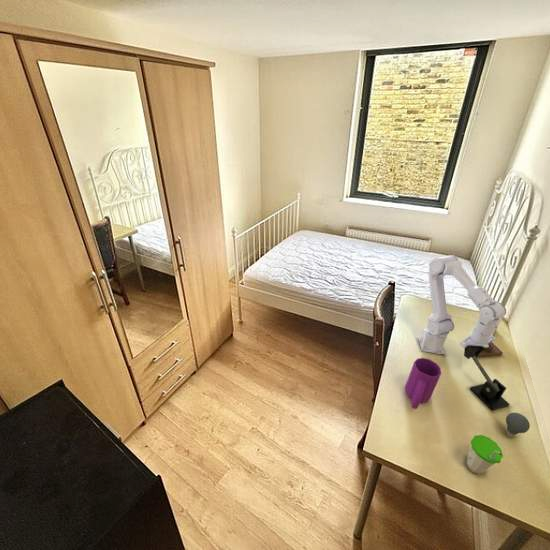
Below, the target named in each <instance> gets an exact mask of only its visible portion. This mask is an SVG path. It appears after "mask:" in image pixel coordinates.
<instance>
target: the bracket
mask: <svg viewBox="0 0 550 550" xmlns="http://www.w3.org/2000/svg"><path fill="white" fill-rule="evenodd" d="M492 382H493V383H497V385H498V386H499V388H500V389H501V390H500V391H498V390H497V389H496V388H495V387H494V386H493V385H491V384H490V383H489V382H488V381H487V380H486V381H485V382H484V383H481V384H478V385H474V386H470V387H469V390H470V391H471V393H473V394H474V396H476V398H478V399H479V401H480V402H482V403H483V404H484V405H485V406H486V407H487V408H488V409H489V410H490V411H491V412H494V411H497V410H501V409H504V408H508V407H509V406H510V403H509V402H508V400H506V399H505V398H504V397H503V395H504V393H505V392H506V390H507V387H506V386H505V385H504V384H502V382H500V381H499V380H498V379H497V378H493V380H492ZM497 391H498V392H497Z"/></svg>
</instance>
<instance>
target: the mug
mask: <svg viewBox="0 0 550 550" xmlns="http://www.w3.org/2000/svg"><path fill="white" fill-rule="evenodd" d="M441 375H442V368H441V367H440V365H439V364H438V363H437V362H435V361H433V360H432V359H430V358H427V357H420V358H416V359H415V361H413V365H412V367H411V369H410V373H409V375H408V377H407V380H406V383H405V386H404V393H405V395H406V396H407V397H408V399H410V400H411V403H410V407H411V409H413V410H416V409H419V405H420V404H427V403H428V402H429V401H430V400H431V398H432V396H433V394H434V391H435V389H436V386H437V384H438V381H439V380H440V377H441Z"/></svg>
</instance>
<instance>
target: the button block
mask: <svg viewBox="0 0 550 550" xmlns="http://www.w3.org/2000/svg"><path fill="white" fill-rule="evenodd" d="M490 342H491V341H490ZM503 354H504V352H503V351H502V350H501V349H500V348H499V347H498V346H497V345H496V344H495V343H494V342H493V341H492V342H491V344H490V347H489V348H487V349H485V350H484V351H483V352H481V353H480V354H479V355H478V356H477V357H476V358H477V359H480V358H491V357H492V358H494V357H501V356H502V355H503Z"/></svg>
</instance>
